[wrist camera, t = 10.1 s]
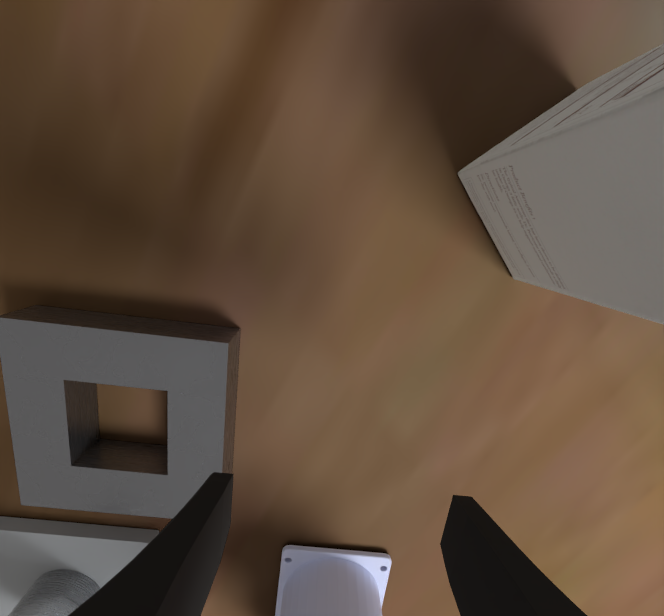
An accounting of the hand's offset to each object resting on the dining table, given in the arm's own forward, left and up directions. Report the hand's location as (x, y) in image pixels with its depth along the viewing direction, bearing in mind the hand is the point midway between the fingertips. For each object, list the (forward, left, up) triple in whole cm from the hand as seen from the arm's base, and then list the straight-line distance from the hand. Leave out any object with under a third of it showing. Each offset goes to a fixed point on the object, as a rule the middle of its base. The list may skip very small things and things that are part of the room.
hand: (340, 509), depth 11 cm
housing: (-4, +12, -10) cm, 16 cm away
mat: (-20, +17, -10) cm, 28 cm away
